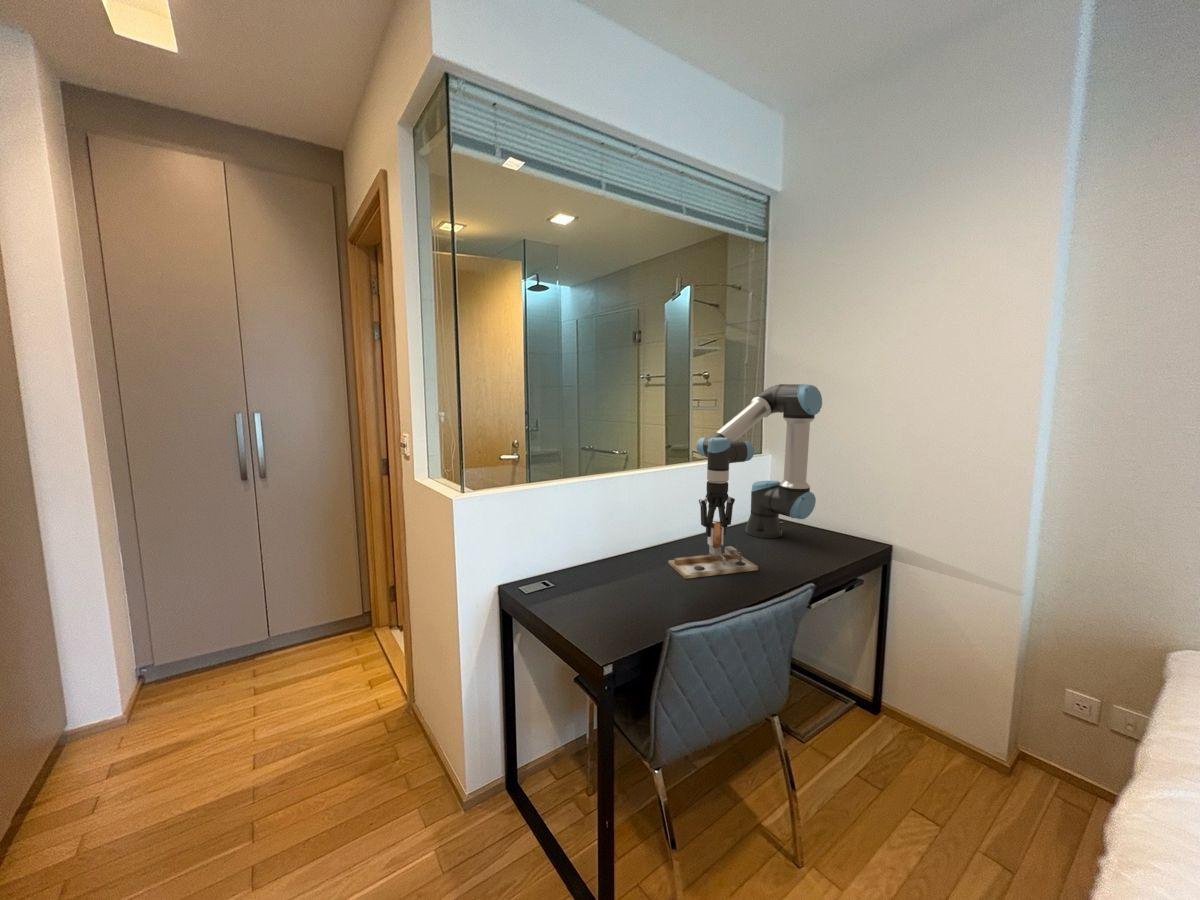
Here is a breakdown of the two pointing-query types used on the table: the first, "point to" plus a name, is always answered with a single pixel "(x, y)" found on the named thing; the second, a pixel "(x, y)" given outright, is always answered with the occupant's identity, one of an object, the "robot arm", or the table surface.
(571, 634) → the table surface
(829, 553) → the table surface
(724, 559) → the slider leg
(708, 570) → the holed mounting plate
